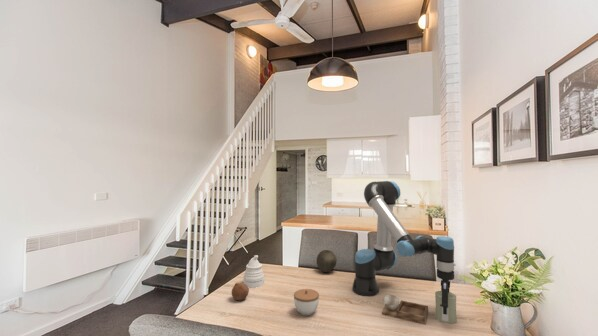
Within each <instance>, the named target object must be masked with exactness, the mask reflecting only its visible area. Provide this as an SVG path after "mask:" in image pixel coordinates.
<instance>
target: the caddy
mask: <svg viewBox="0 0 598 336" xmlns="http://www.w3.org/2000/svg"><path fill="white" fill-rule="evenodd" d="M383 299H384V300H383V301H384V303H383V304H384V307H383V308H382V310H381V315H383V316H388V317H392V318H396V319H400V320H405V321H408V322H413V323H418V324H422V325H426V324H427V320H428V315H429V305H424V304H421V303H420V304H419V303H417V302H415V303H414V302H411V301H406V300H402V299H401V300H400V299H399V297H398V296H396V295H391V294H387V295H385V296H384V298H383ZM399 300H400V302H399Z"/></svg>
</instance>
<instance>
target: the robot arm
mask: <svg viewBox="0 0 598 336" xmlns="http://www.w3.org/2000/svg"><path fill="white" fill-rule="evenodd" d="M363 191H364V192H363V196H364V197H363V198H364V200H365V203H366V204H367V205H368V206H369V208H372V209H373V210H374V212H375V213H376V215H377V223H376V244H374V245H373V249H371V248H364V249H363V248H362V249H360V250H357V251H356V252H355V255H354V256H355V257H354V263H355V270H354V271H355V275H354V276H355V278H354V280H353V283H352V292H354V294H356V295H359V296H363V297H364V296H365V297H373V296H376V295H378V294H379V290H380V289H379V284H378V281H377V277H376V272H380V271H386V270H389V269H393V268H394V267H395V266H396V265H397V262H398V256H397V253H398V255H399V256H401V257H405V258H406V257H413V256H416V255H421V254H422V255H423V254H428V253H429V254H431V255H432V254H433V255H436V268H437V269H436V277H437V278H438V279H440V280H441V281H440V286H441V288H440V291H442V305H441V304H440V306H442V320H444V321H448V293H449V292H450V287H451V281H453V280H454V279H455V271H454V270H455V267H456V265H457V264H456V263H455V244H454V239H453V238H452V237H450V236H444V235H443V236H442V235H439V236H436V238H432V237H429V236H426V235H417V237H415V238H413V237H412V236H411V235H410V234H409V232H408V230H407V229H406V228H405V227H404V225H403V224H402V222H401V221H400V220H399V219H398V217H397V216H396V215H395V214H394V211H393V209H394V207H395V206H396V205H397V204H396V203H397V202H396V201H398V200H399V198H400V197H401V189H400V186H399V185H398V184H397V183H396V182H395V181H393V180H392V181H390V180H383V181H382V180H381V181H379V180H378V181H371V182H370V183H368V184H366V185H365V188H364V190H363ZM392 238H393V239H394V240H395V242H396V243H397V244H396V246H395V247H396V250H397V252H396V251H395V250H394V247H393V246H392Z"/></svg>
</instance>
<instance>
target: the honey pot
mask: <svg viewBox="0 0 598 336" xmlns="http://www.w3.org/2000/svg"><path fill="white" fill-rule="evenodd" d="M258 259H259V255H257V254H255V255H253V257H252V258H251V259H250V260H249V261H248V263H247V264H246V266H245V267H246V269H245V270H244V274H243V283H244V284H246V285H247V286H248V287H249V289H256V287H257V288H260V286H261V287H263V286H264V285H265V274H264V271H263V268H262V267H263V264H262V263H260V261H259V260H258ZM263 284H264V285H263ZM262 285H263V286H262Z"/></svg>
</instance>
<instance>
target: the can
mask: <svg viewBox="0 0 598 336" xmlns="http://www.w3.org/2000/svg"><path fill="white" fill-rule="evenodd" d="M434 295H435V296H434V298H435V299H434V300H435V315H434V316H435V317H434V318H435V319H436V320H437V321H439V322H441V323H444V324H448V325H449V324H455V323H457V322H458V320H457V295H456V294H455V293H453V292H451V291H449V293H448V321H444V320H442V306H440V304H441V305H442V291H441V290H437V291H435V293H434Z"/></svg>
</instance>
